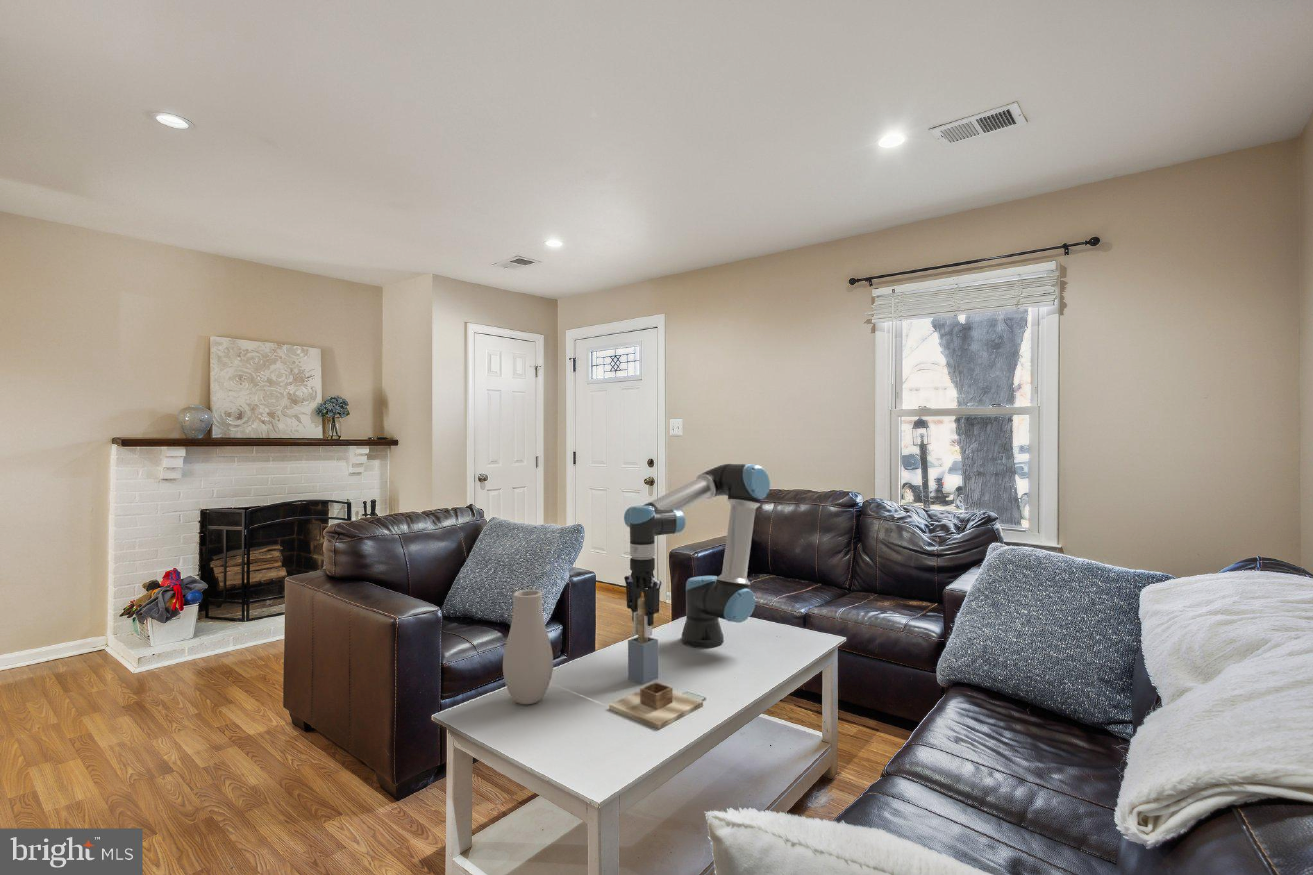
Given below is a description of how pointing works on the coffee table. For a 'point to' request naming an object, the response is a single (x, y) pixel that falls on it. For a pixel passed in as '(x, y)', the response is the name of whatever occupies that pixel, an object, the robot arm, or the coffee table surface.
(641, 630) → the dowel
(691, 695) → the smartphone
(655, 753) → the coffee table surface
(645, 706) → the board with square socket
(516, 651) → the vase
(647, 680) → the grey square tube
